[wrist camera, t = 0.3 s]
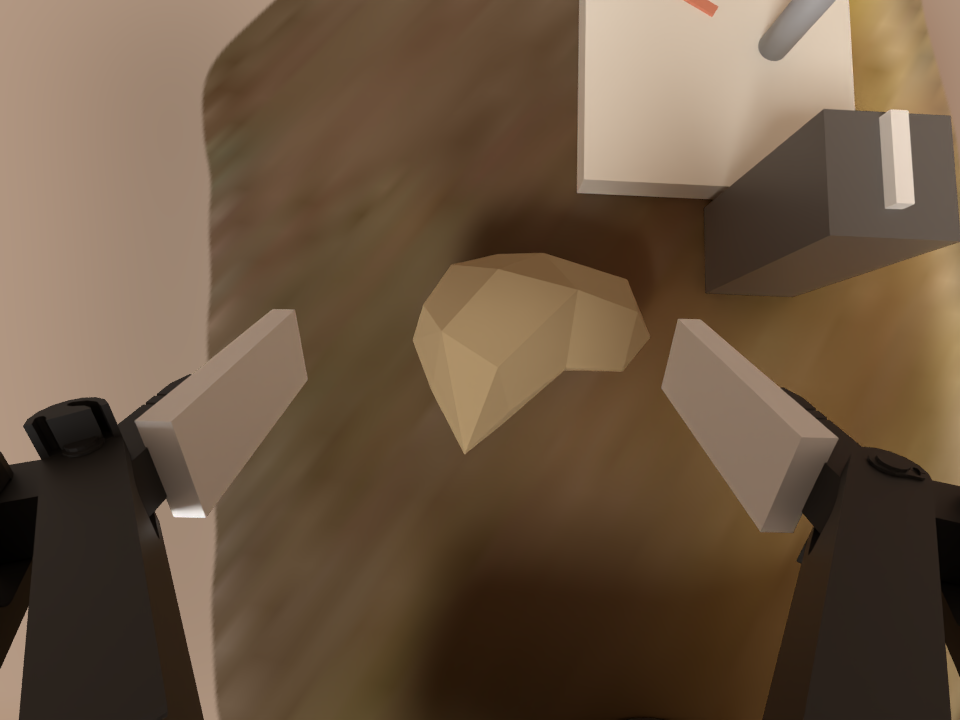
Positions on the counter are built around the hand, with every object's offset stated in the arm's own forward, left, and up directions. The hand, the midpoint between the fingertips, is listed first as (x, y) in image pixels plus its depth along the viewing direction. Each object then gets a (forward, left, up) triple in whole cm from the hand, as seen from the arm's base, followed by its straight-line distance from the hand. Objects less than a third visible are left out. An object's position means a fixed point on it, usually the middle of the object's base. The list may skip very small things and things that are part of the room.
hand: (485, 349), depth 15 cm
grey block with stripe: (+10, -20, -16) cm, 28 cm away
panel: (+22, -17, -16) cm, 32 cm away
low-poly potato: (+2, -3, -16) cm, 17 cm away
